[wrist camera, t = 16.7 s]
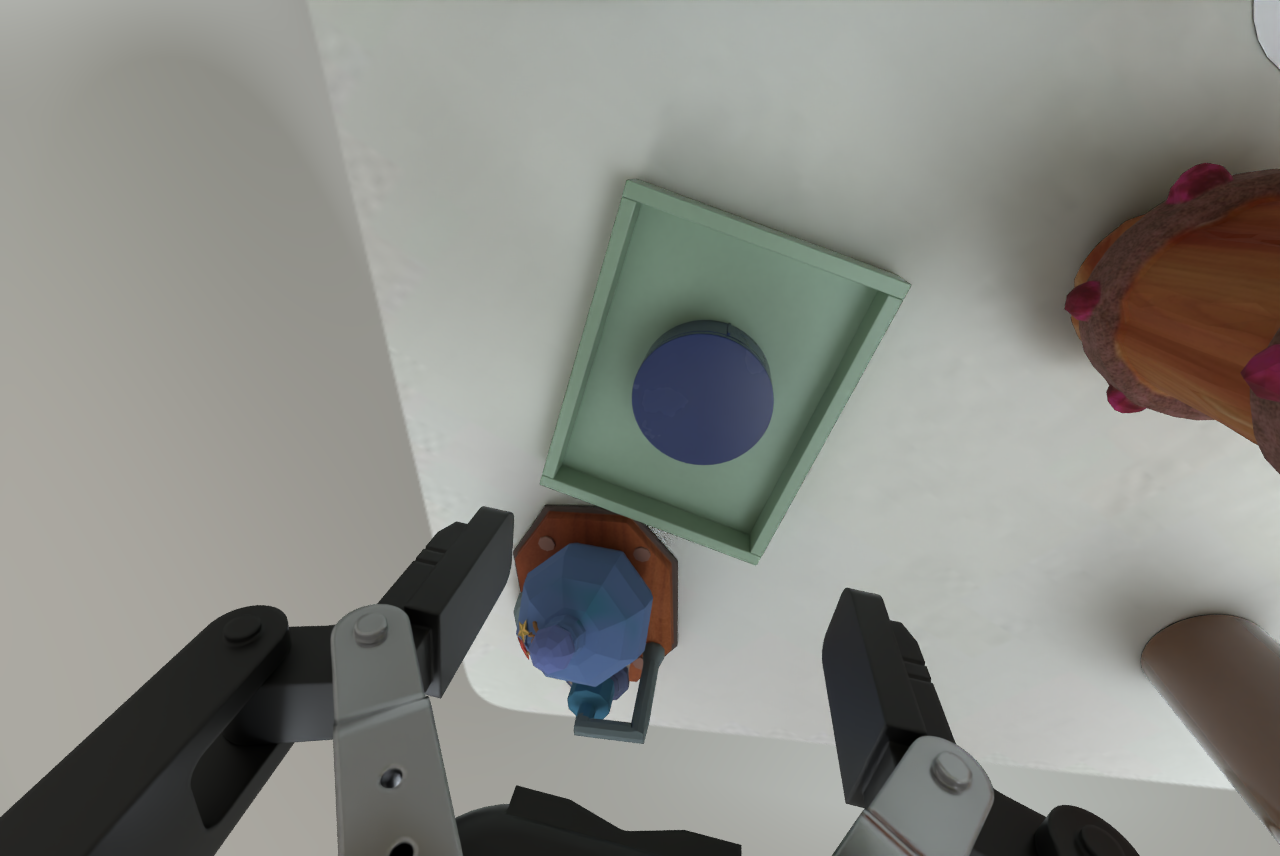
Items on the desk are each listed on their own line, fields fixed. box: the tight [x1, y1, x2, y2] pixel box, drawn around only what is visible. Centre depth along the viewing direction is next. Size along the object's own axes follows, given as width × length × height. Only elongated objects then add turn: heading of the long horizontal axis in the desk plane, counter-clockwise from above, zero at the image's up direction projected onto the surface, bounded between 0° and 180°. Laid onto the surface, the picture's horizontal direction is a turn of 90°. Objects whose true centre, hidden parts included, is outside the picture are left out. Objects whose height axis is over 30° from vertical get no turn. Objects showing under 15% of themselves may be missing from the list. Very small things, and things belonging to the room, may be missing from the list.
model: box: [513, 505, 678, 744], centre depth 28 cm, size 12×9×9 cm
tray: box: [540, 179, 911, 565], centre depth 25 cm, size 14×11×2 cm
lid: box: [632, 320, 774, 465], centre depth 24 cm, size 6×6×2 cm
